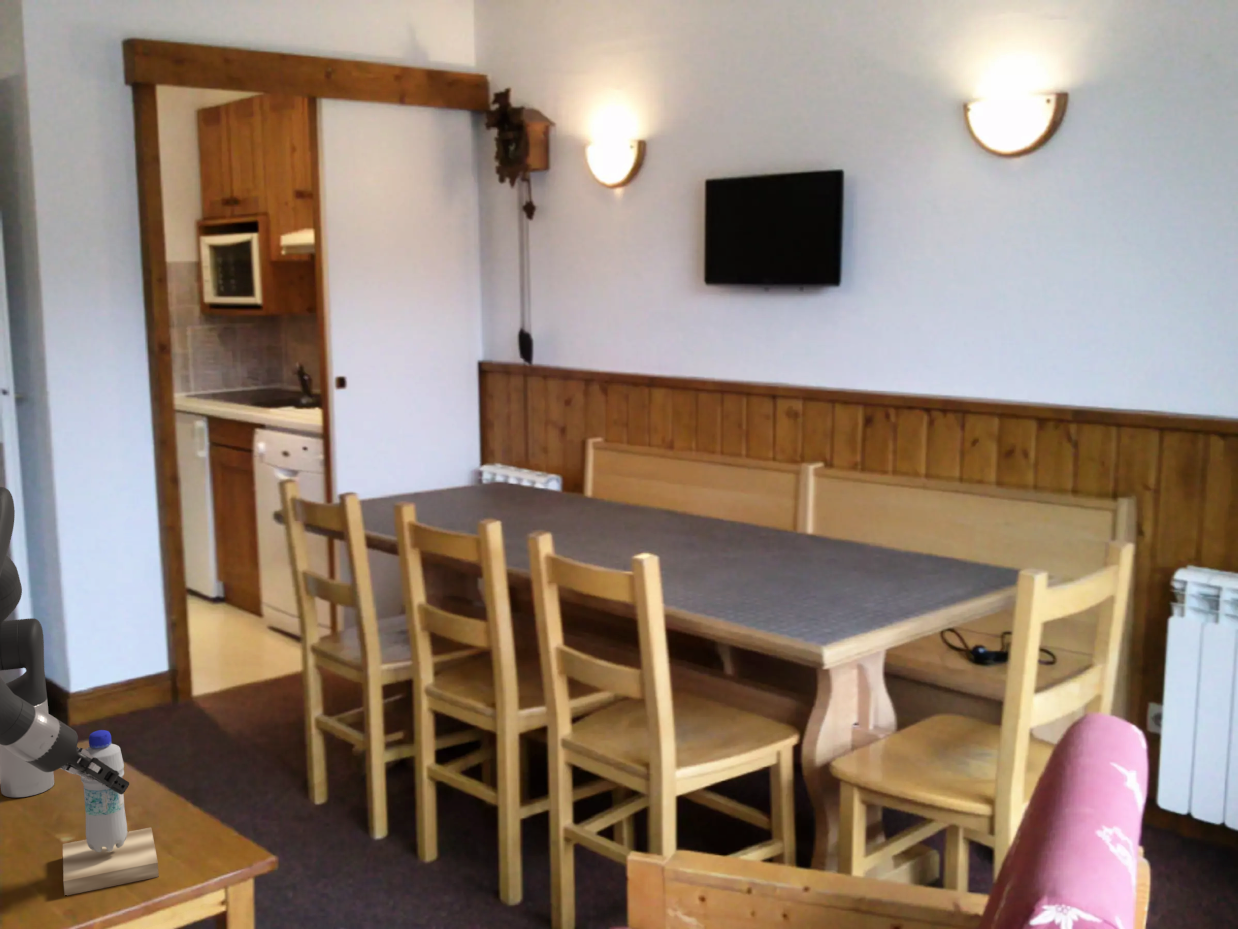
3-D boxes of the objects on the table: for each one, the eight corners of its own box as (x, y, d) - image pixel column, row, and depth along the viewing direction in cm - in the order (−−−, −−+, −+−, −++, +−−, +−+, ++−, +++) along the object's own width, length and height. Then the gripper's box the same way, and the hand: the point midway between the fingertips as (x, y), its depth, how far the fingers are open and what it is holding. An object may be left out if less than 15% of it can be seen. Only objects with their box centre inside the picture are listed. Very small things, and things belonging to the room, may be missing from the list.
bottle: (132, 849, 198) (124, 733, 195) (89, 859, 194) (80, 742, 191) (125, 833, 204) (117, 720, 201) (82, 843, 200) (74, 728, 197)
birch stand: (63, 857, 203) (62, 844, 203) (152, 841, 209) (151, 827, 208) (64, 896, 191) (63, 881, 190) (158, 876, 196) (157, 862, 196)
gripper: (78, 726, 185) (151, 773, 196) (28, 707, 193) (101, 753, 205) (48, 770, 182) (124, 815, 193) (-2, 749, 190) (74, 793, 201)
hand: (112, 783), depth 199 cm, fingers closed on bottle, 6 cm apart
